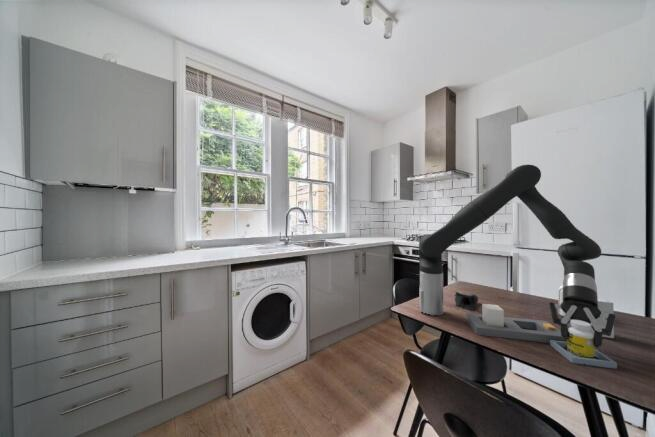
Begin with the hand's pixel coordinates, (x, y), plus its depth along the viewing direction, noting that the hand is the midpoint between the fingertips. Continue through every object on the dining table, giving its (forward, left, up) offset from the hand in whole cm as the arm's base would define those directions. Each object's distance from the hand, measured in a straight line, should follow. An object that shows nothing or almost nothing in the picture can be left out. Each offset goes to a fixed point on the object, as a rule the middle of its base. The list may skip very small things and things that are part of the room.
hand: (580, 341), depth 67 cm
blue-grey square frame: (+1, +2, -5) cm, 5 cm away
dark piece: (-19, +36, -5) cm, 41 cm away
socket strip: (-11, +14, -5) cm, 18 cm away
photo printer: (+18, +37, -5) cm, 41 cm away
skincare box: (+16, +19, -5) cm, 25 cm away
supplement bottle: (+1, +2, -5) cm, 5 cm away
